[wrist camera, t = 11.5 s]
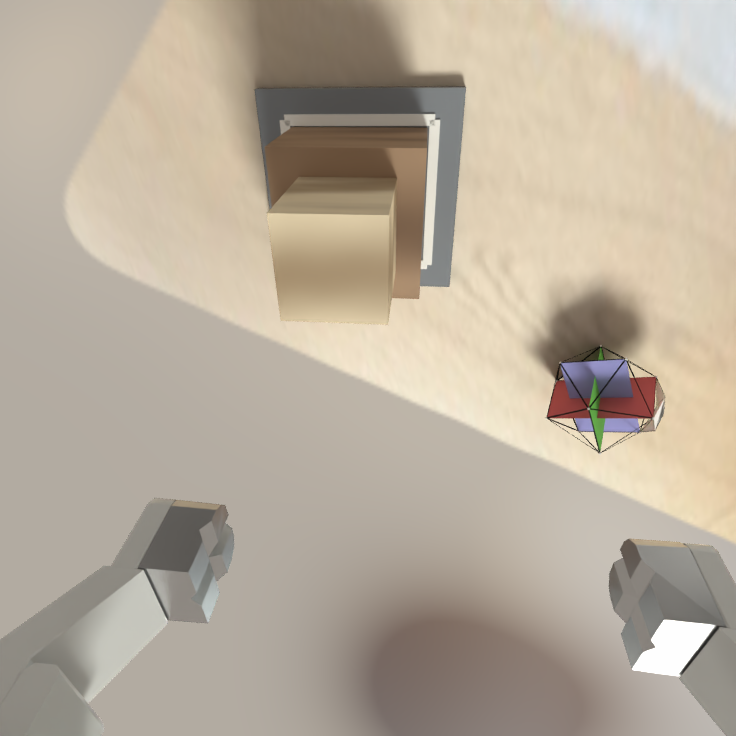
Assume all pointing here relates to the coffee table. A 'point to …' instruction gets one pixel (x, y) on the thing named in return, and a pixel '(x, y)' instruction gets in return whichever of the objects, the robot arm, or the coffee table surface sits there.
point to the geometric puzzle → (605, 397)
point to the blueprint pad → (387, 109)
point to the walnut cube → (362, 159)
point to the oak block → (335, 249)
